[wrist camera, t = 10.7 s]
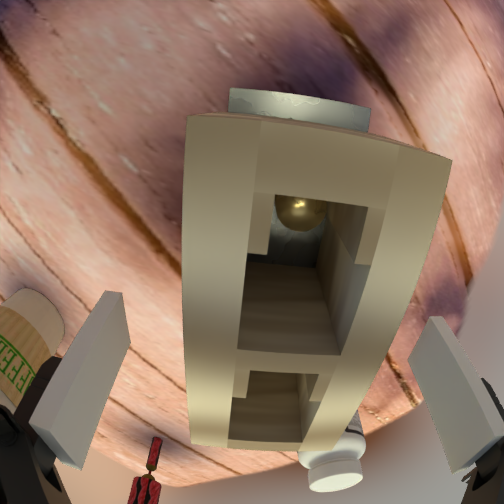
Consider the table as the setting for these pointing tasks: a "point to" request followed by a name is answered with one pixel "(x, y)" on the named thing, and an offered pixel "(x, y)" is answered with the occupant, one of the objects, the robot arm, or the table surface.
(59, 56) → the table surface
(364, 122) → the post rail
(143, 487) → the lantern
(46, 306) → the coffee cup
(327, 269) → the cinder block
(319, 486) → the pill bottle
